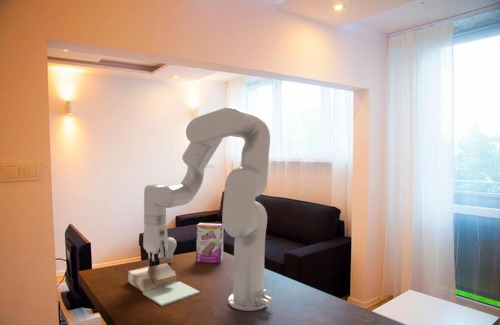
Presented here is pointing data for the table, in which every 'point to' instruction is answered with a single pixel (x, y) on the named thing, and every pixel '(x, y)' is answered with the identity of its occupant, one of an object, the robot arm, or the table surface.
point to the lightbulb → (170, 249)
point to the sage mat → (170, 293)
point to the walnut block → (161, 274)
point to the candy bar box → (209, 243)
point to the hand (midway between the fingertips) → (154, 271)
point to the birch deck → (143, 279)
